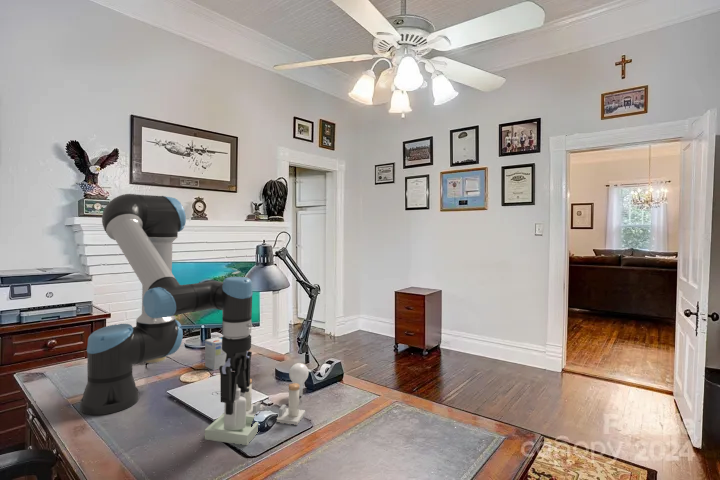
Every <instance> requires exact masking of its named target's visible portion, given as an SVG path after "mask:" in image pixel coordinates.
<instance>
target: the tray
mask: <svg viewBox="0 0 720 480" xmlns="http://www.w3.org/2000/svg"><path fill="white" fill-rule="evenodd" d="M254 417H255V416H254V415H247V414H246V426H245V428H243V429H240V430H233V431H229V430H225V429H224V412H223V413H222V414H221V415H220V416H218V417H217V418H216V419H215V420H214V421H213V422H212V423H210V425H208V426H207V427H206V428H205V429H204V440H206V441H207V440H208V441H214V442H222V443H227V444H233V443H235V445H240V444H242V445H241V446H249V444H250V443H251V442H252V441H251V440H253V439H254V438H256V436H257V435H256V434H258V433H259V432H258V424H259V423H257V422H255V423H254V424H253V426H252V427H251V424H252V421H253V419H254ZM257 432H258V433H257ZM255 435H256V436H255ZM250 441H251V442H250ZM249 442H250V443H249Z"/></svg>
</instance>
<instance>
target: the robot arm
mask: <svg viewBox="0 0 720 480" xmlns="http://www.w3.org/2000/svg"><path fill="white" fill-rule="evenodd" d="M186 221H187V220H186V210H185V208H184V207H183V204H182V203H181V201H179V200H178V199H177V198H175V197H171V196H167V195H166V196H165V195H148V194H136V193H126V194H121V195H118V196H117V197H113V199H111V200H110V201H109V202H108V203H107V204H106V205H105V207H104V209H103V211H102V216H101V223H102V227H103V230H104V232H105V233H106V235H107V237H109V238H110V239H111V240H114V241H115V242H116V243H117V245H118V247H119V248H120V251H121V252H122V254H123V255H124V257H125V258H126V260H127V261H128V263H129V265H130V267H131V268H132V270H133V272H134V273H135V275H136V277H137V278H138V280H139V282H140V283H141V286H142V288H141V292H142V293H141V314H140V315H139V316H138V317H137V318H136V320H135V321H136V323H135V324H136V325H135V326H132V324H129V323H119V324H112V325H111V324H110V325H107V326H103V327H102V328H101V327H100V328H98V329H97V330H95V331H93V332H91V333H90V335H89V336H88V338H87V347H86V353H87V355H86V356H87V357H86V358H87V359H86V361H87V382H86V385H85V388H84V392H83V395H82V397H81V399H80V403H79V404H80V408H79V409H80V412H82V413H83V414H84V415H85V414H86V415H90V416H103V415H106V414H107V415H108V414H114V413H117V412H120V411H124V410H126V409H128V408H130V407H132V406H134V405H135V404H136V403H137V402H138V401H139V399H140V397H139V394H140V393H139V389H138V388H137V385H136V382H135V379H134V376H133V366H134V365H137V364H141V363H146V361H149V360H153V359H157V358H163V357H165V356H166V357H168V356H170V355H173V354H175V353H177V351H179V349H180V347H181V345H182V343H183V333H184V332H183V328H182V324H181V322H179V321H178V320H177V319H176V316H179V315H185V314H189V313H196V312H200V311H208V310H212V309H214V310H218V311H222V318H221V321H222V322H221V326H222V327H221V336H223V337H222V350H223V351H224V352H225V353H226V354H227V355H226V360H225V362H226V363H225V365H224V366H220V367H219V369H218V371H219V374H220V376H219V377H220V385H219V386H220V390H219V391H220V403H223V404H225V403H226V422H225V425H231V426H235V425H236V412H237V401H236V400H235V394H236V385H238V388H240V389H241V390H240V396H242V397H244V398H245V392H249V388H247V387H249V386H250V378H251V364H252V363H251V362H252V361H251V360H252V355H253V352H252V351H250V350H251V348H252V335H251V334H252V327H253V324H252V319H253V317H252V314H253V310H252V309H253V295H254V293H253V286H252V285H253V281H252V279H250V278H249V277H244V276H228V277H226V278H224V279H223V281H220V280H219V281H218V280H215V279H203V280H201V281H199V282H196V283H188V284H180V283H179V282H178V280H177V279H176V277H175V275H174V274H173V272H172V270H173V242H174V241H175V240H177V238H178V235H179V234H178V233H179V232H181V231H182V230H183V229H185V226H186V224H187V223H186ZM246 381H247V382H246Z"/></svg>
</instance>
